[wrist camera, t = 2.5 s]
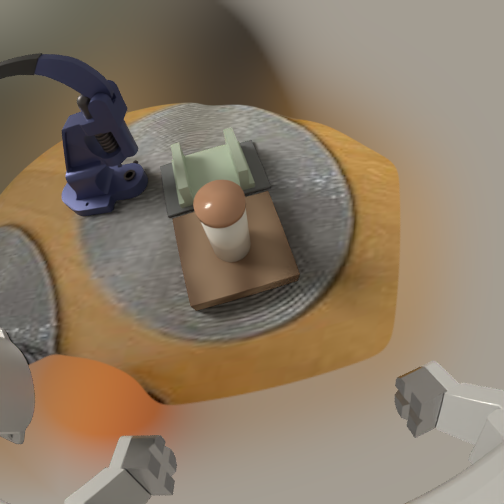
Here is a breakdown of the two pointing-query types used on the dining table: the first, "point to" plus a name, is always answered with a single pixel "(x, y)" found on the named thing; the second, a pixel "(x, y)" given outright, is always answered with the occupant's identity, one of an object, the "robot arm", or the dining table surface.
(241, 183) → the rack
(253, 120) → the dining table surface
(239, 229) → the mushroom
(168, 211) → the mat
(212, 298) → the board
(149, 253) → the dining table surface
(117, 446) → the robot arm
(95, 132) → the hand press
